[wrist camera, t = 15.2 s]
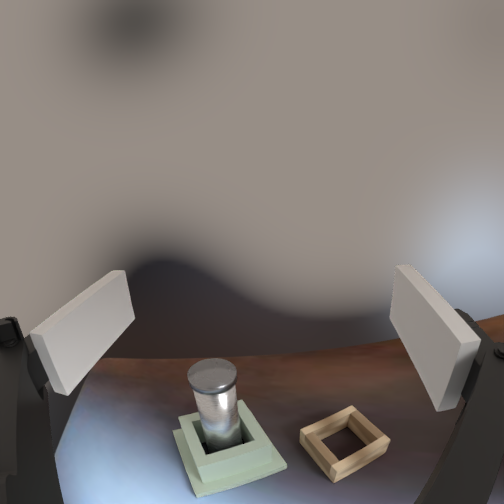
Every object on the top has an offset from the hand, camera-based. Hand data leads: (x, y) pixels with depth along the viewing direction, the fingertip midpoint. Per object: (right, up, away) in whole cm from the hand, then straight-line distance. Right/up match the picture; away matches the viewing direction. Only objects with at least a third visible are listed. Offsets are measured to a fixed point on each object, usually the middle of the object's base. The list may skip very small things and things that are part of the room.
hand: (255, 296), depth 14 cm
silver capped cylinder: (-4, -25, +21) cm, 33 cm away
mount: (+12, -24, +20) cm, 34 cm away
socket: (-4, -25, +21) cm, 33 cm away
